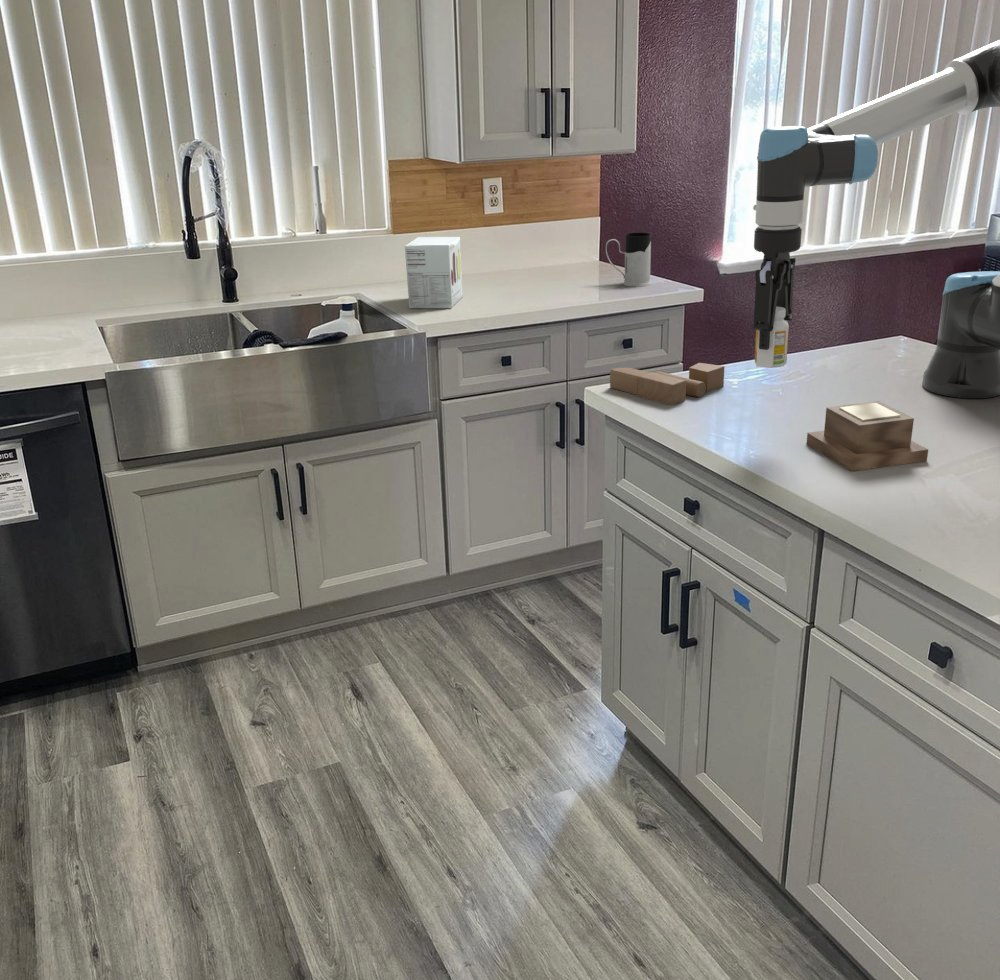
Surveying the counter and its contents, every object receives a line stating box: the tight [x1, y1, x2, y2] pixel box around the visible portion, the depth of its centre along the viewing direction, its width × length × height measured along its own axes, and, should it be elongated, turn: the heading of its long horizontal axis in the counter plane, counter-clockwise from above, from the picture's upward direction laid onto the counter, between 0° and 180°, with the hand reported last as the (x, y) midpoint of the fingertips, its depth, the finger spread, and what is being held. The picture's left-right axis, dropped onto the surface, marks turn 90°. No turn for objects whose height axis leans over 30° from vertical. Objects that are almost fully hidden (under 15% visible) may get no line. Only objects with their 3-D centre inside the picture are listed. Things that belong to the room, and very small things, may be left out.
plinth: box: [806, 400, 929, 472], centre depth 168 cm, size 14×14×7 cm
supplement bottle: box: [754, 307, 789, 369], centre depth 172 cm, size 5×5×10 cm
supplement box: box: [404, 236, 464, 309], centre depth 291 cm, size 17×13×18 cm
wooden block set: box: [609, 362, 725, 406], centre depth 207 cm, size 17×6×18 cm
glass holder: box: [605, 232, 652, 288], centre depth 306 cm, size 9×14×15 cm, turn 84°
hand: (770, 361), depth 173 cm, fingers closed on supplement bottle, 5 cm apart
